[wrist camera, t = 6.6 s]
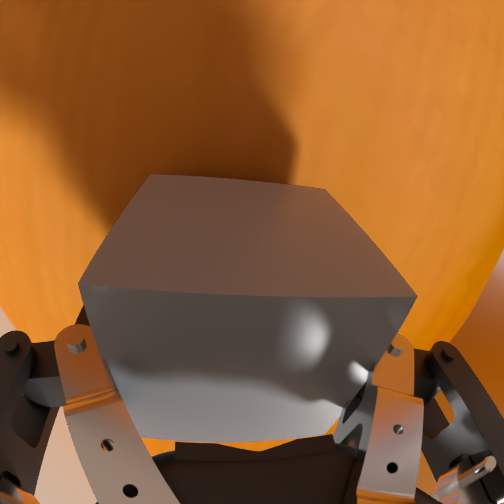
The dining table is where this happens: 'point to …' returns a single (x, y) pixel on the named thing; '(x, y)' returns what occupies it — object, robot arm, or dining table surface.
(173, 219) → the grey block
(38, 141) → the dining table surface
